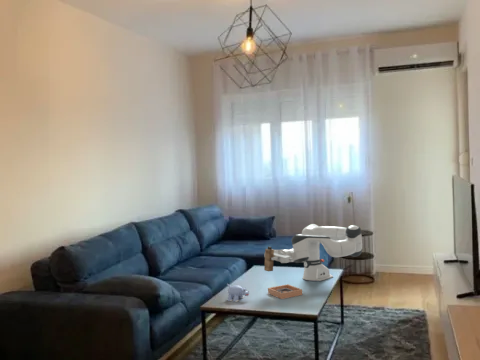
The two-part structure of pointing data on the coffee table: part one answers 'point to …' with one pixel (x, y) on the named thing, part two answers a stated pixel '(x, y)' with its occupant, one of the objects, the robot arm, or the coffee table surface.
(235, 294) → the hippopotamus toy
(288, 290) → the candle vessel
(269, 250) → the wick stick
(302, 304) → the coffee table surface
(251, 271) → the coffee table surface
